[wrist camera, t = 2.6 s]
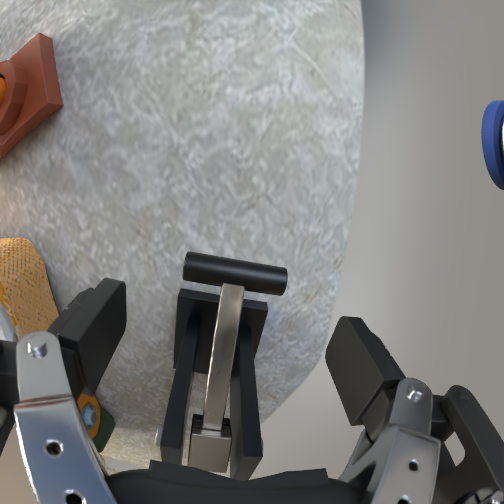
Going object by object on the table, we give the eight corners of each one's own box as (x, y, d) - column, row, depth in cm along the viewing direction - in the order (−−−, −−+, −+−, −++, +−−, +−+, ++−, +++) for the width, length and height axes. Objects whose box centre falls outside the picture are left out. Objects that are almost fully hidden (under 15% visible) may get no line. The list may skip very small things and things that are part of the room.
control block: (52, 38, 13) (27, 27, 9) (63, 105, 15) (34, 100, 12) (-13, 99, 13) (-38, 98, 9) (-3, 163, 16) (-30, 168, 12)
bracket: (180, 287, 21) (135, 421, 9) (267, 302, 22) (293, 440, 10) (175, 360, 24) (149, 479, 12) (247, 371, 25) (256, 491, 13)
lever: (189, 253, 14) (185, 248, 12) (280, 268, 15) (292, 267, 13) (167, 443, 13) (162, 464, 11) (246, 452, 14) (251, 474, 12)
